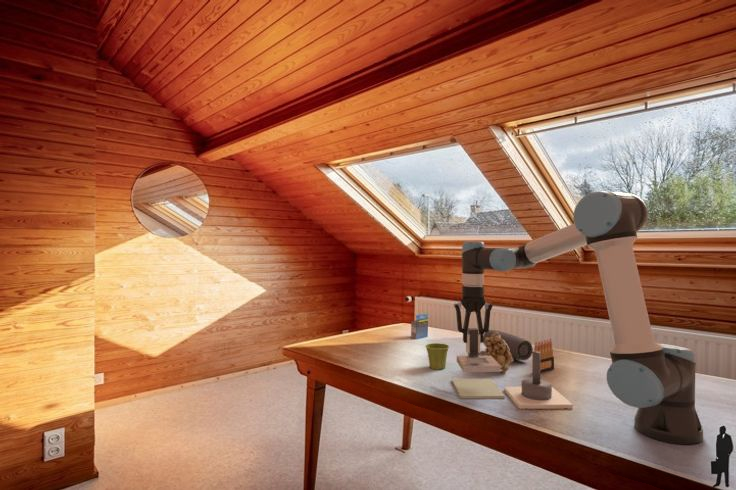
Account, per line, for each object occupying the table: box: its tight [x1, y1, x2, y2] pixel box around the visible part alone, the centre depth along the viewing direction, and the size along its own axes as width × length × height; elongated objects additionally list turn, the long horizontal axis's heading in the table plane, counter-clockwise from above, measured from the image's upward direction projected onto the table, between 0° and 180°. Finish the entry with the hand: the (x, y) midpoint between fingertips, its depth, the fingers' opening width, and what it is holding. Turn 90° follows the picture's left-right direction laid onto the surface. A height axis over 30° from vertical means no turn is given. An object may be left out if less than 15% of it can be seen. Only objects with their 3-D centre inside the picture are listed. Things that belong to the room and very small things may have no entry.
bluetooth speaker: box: [482, 329, 534, 361], centre depth 193 cm, size 23×9×10 cm, turn 22°
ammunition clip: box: [533, 338, 555, 374], centre depth 172 cm, size 11×2×12 cm, turn 123°
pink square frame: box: [456, 327, 502, 373], centre depth 152 cm, size 15×12×11 cm
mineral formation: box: [483, 332, 514, 373], centre depth 174 cm, size 8×13×15 cm, turn 32°
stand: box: [503, 350, 574, 410], centre depth 143 cm, size 16×16×15 cm
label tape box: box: [410, 313, 429, 340], centre depth 229 cm, size 9×4×12 cm, turn 130°
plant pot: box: [425, 342, 450, 371], centre depth 177 cm, size 9×9×9 cm
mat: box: [451, 378, 506, 399], centre depth 152 cm, size 17×14×1 cm
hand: (473, 351), depth 158 cm, fingers closed on pink square frame, 3 cm apart
